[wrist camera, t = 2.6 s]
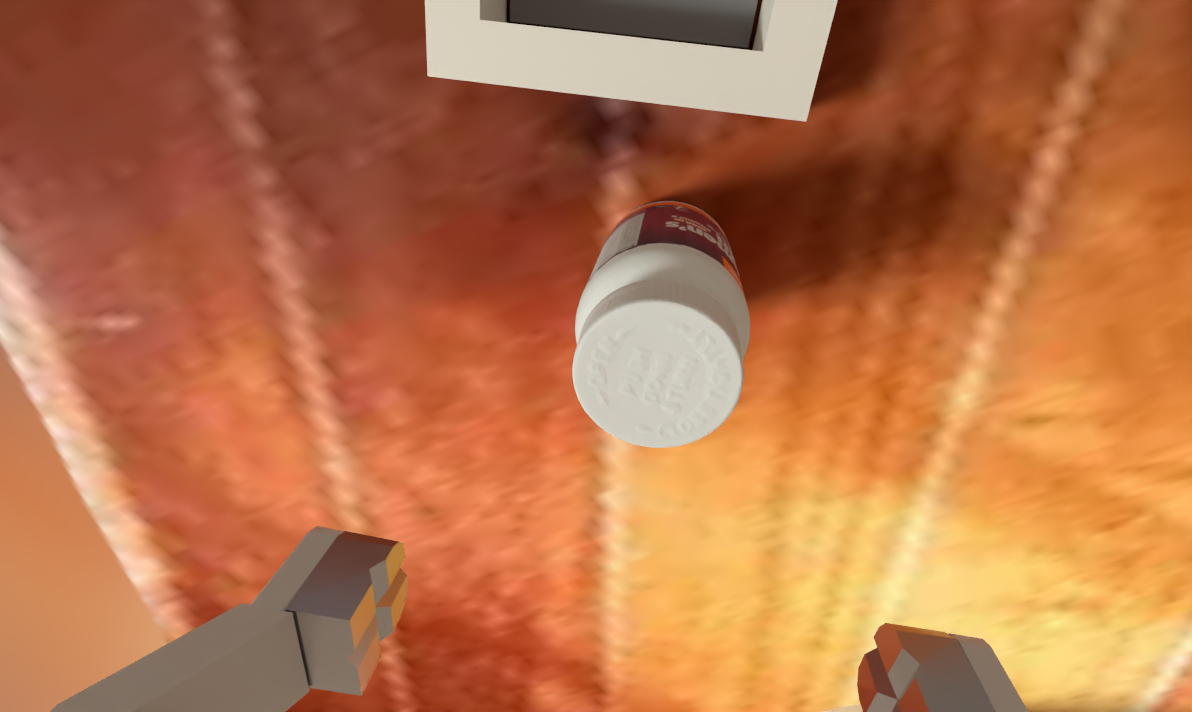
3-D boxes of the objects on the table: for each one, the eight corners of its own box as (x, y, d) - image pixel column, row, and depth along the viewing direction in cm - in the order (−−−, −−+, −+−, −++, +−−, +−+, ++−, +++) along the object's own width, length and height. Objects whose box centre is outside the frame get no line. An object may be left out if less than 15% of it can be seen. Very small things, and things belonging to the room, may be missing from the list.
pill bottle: (759, 253, 26) (812, 369, 16) (673, 344, 28) (671, 494, 18) (655, 168, 24) (640, 236, 14) (576, 272, 27) (518, 389, 17)
